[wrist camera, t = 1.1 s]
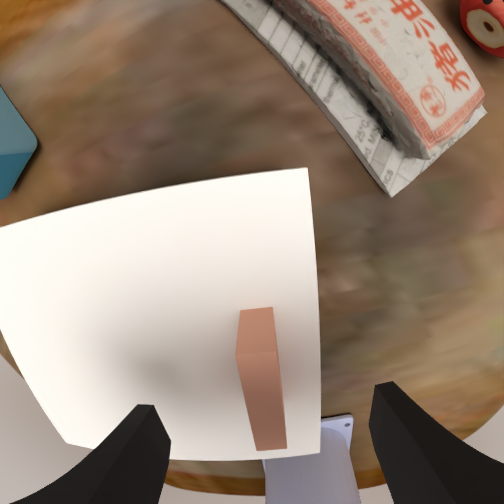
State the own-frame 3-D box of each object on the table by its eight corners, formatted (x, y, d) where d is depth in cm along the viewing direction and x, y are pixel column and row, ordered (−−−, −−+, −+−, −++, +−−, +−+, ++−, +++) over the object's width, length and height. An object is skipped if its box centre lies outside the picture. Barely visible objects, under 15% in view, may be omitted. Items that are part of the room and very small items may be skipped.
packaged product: (173, -56, 9) (318, -115, 7) (191, -16, 13) (308, -75, 11) (418, 212, 13) (524, 112, 11) (381, 196, 17) (477, 115, 15)
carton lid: (318, 445, 15) (326, 492, 11) (69, 437, 16) (51, 470, 12) (304, 167, 10) (325, 172, 7) (-24, 234, 11) (-67, 254, 8)
